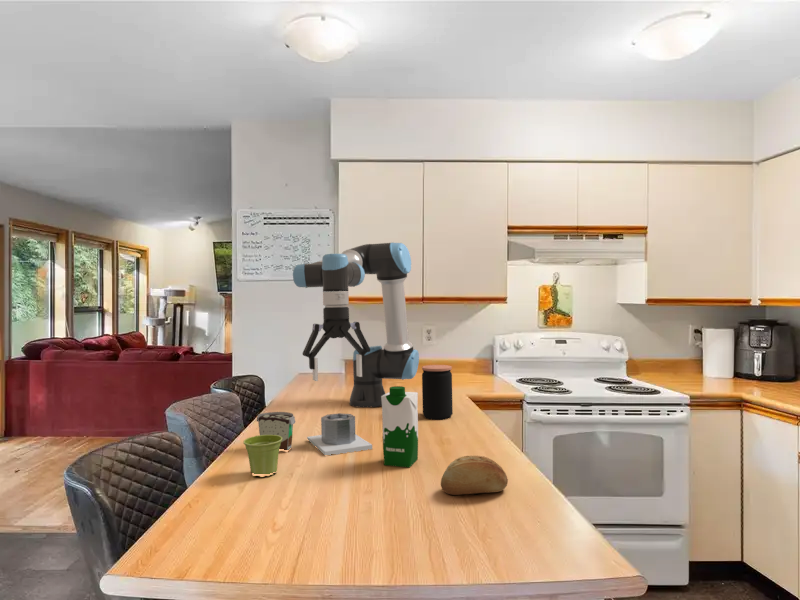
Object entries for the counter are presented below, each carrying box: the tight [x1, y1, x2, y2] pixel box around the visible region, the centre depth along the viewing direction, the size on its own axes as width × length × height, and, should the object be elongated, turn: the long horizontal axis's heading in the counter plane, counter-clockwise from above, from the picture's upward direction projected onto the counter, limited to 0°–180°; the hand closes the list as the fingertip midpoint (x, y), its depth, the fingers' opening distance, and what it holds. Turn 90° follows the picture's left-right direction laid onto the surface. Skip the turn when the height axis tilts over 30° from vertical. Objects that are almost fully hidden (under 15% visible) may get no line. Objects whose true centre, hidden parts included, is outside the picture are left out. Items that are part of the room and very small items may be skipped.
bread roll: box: [440, 455, 509, 496], centre depth 118 cm, size 10×15×8 cm, turn 96°
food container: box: [256, 411, 296, 450], centre depth 156 cm, size 12×6×10 cm, turn 65°
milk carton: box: [381, 385, 419, 468], centre depth 140 cm, size 9×9×20 cm
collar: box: [320, 412, 356, 445], centre depth 158 cm, size 9×9×7 cm
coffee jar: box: [421, 364, 454, 421], centre depth 192 cm, size 11×11×18 cm
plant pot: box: [243, 434, 282, 474], centre depth 133 cm, size 9×9×9 cm
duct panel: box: [306, 419, 373, 456], centre depth 158 cm, size 18×14×7 cm
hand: (337, 378), depth 158 cm, fingers open, 13 cm apart
